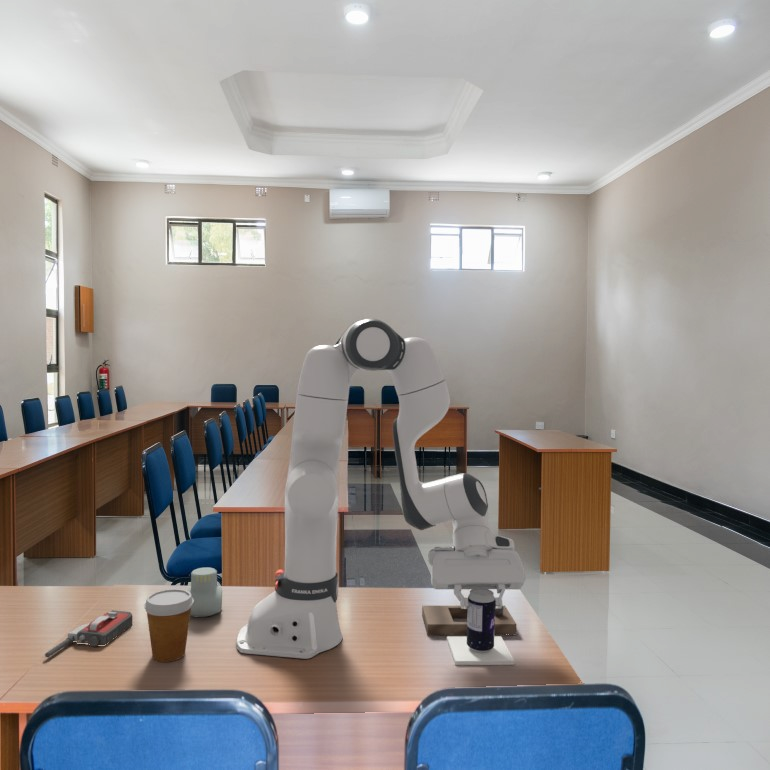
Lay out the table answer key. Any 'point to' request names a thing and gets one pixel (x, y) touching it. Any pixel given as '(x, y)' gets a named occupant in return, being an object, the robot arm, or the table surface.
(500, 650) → the pad
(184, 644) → the disposable coffee cup
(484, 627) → the beverage can
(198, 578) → the air freshener
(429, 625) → the base
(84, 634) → the walkie-talkie
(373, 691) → the table surface
